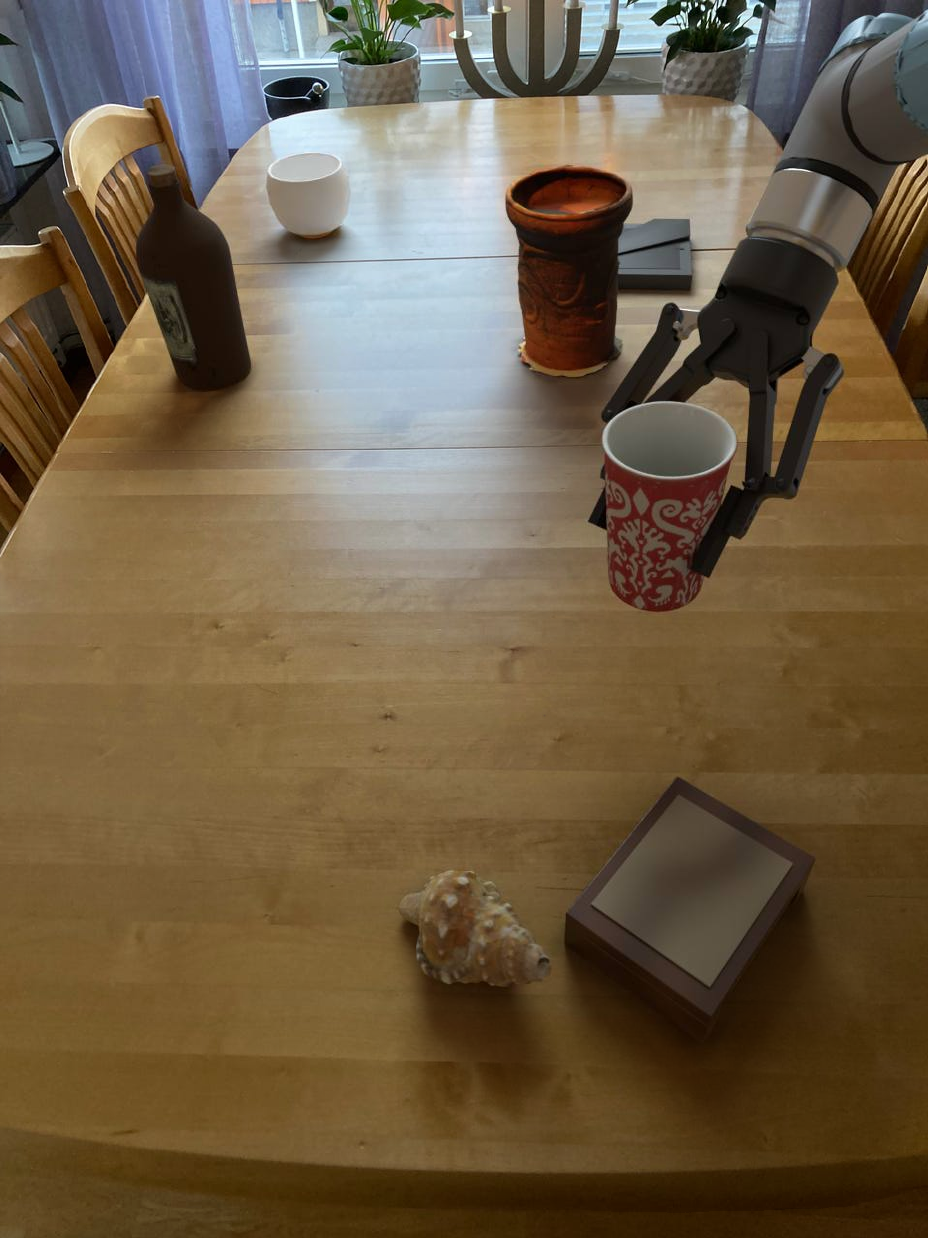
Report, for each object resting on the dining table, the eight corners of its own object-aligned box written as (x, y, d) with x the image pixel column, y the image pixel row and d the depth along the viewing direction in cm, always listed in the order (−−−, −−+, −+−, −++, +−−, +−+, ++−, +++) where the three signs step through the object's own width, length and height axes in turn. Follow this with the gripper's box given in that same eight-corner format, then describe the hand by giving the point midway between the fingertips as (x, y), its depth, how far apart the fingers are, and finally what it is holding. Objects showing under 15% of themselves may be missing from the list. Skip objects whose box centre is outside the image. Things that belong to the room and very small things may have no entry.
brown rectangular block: (803, 890, 69) (817, 856, 66) (702, 1045, 62) (711, 1016, 59) (671, 809, 75) (677, 773, 71) (563, 943, 68) (565, 911, 64)
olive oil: (223, 340, 128) (172, 143, 110) (273, 367, 123) (228, 164, 105) (156, 375, 123) (91, 173, 105) (205, 404, 118) (146, 197, 100)
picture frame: (687, 237, 142) (545, 236, 144) (689, 218, 140) (546, 217, 142) (690, 289, 131) (537, 287, 134) (692, 269, 129) (537, 267, 132)
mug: (691, 637, 71) (712, 491, 61) (578, 601, 74) (580, 457, 65) (744, 534, 78) (770, 390, 69) (639, 505, 82) (649, 364, 72)
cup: (274, 219, 154) (261, 156, 147) (350, 209, 155) (342, 146, 148) (277, 253, 145) (264, 188, 138) (359, 242, 146) (350, 177, 139)
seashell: (528, 917, 72) (583, 902, 64) (481, 1021, 69) (533, 1021, 60) (424, 853, 72) (465, 829, 63) (370, 954, 68) (406, 944, 59)
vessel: (491, 335, 125) (485, 177, 111) (590, 310, 129) (597, 153, 114) (536, 390, 116) (536, 226, 102) (642, 362, 119) (657, 198, 105)
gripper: (942, 317, 66) (788, 615, 70) (678, 242, 76) (554, 506, 80) (934, 273, 60) (764, 604, 63) (647, 198, 70) (513, 487, 73)
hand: (647, 549), depth 71 cm, fingers closed on mug, 8 cm apart
